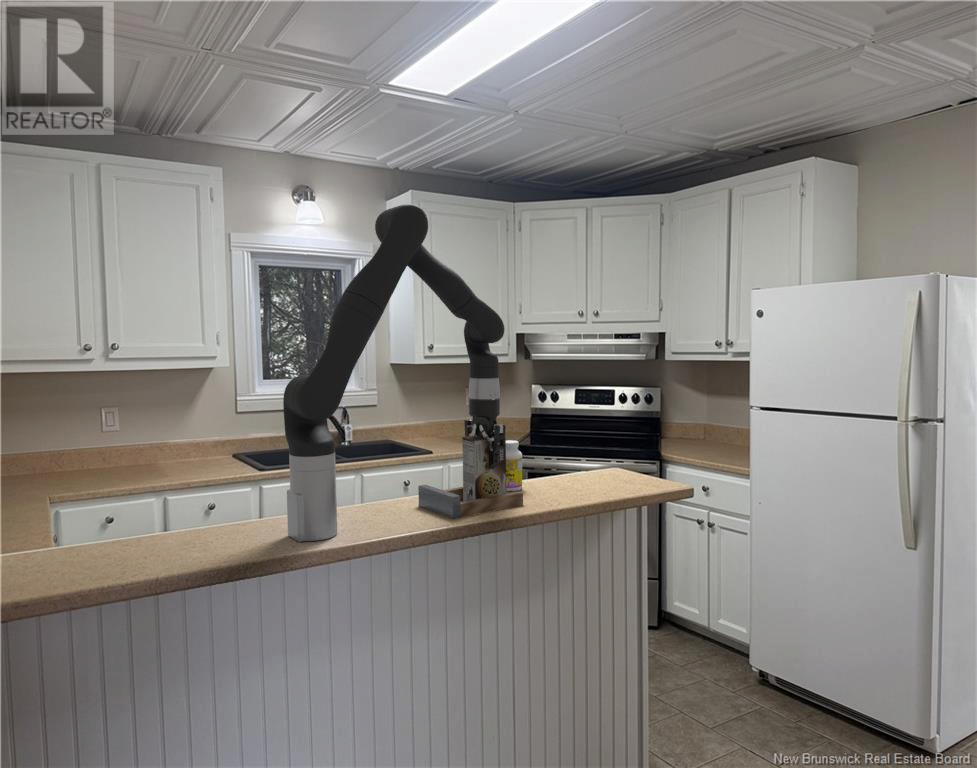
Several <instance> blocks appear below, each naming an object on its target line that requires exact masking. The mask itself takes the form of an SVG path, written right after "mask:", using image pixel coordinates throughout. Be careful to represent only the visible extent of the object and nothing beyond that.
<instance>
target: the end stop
mask: <svg viewBox="0 0 977 768" xmlns="http://www.w3.org/2000/svg"><path fill="white" fill-rule="evenodd" d="M417 488H418V490H417V491H418V507H420V506H421V508H422V507H423V509H425V508H426V509H425V510H427V511H430V510H431V511H430V512H434V513H435V514H438V515H442V516H443V517H446V518H449V519H452V520H456V518H457V519H460V518H462V517H460V502H461V501H460V496H459V495H456V494H453V493H450V492H447V491H444V490H445V489H440V488H439V487H438V488H437V487H434V486H431V485H428V484H421V485H418V487H417Z"/></svg>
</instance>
